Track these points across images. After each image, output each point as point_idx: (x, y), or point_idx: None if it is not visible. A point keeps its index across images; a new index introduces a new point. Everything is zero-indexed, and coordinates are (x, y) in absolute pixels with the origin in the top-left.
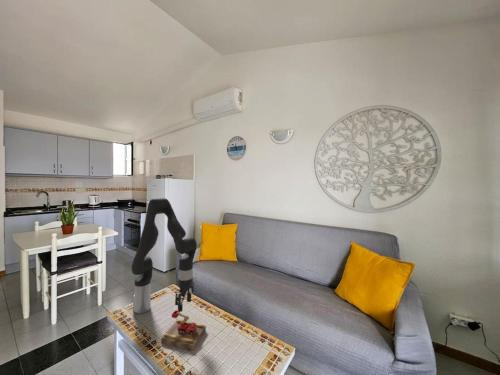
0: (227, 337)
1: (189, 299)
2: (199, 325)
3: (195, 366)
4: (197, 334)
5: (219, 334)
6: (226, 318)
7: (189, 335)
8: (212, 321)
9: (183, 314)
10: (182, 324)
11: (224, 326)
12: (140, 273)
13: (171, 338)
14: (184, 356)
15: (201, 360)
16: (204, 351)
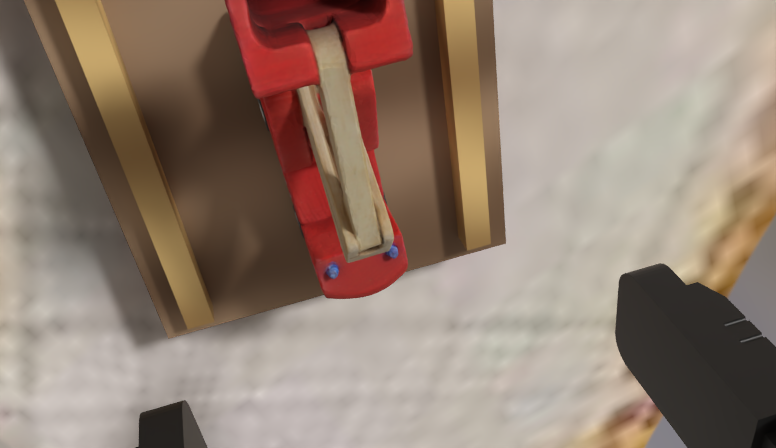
0: (477, 408)
1: (661, 379)
2: (463, 213)
3: (45, 425)
4: None
5: (486, 340)
6: (721, 256)
7: (270, 199)
8: (647, 166)
9: (368, 181)
10: (286, 123)
11: (603, 310)
12: None
13: (63, 21)
14: (53, 275)
15: (133, 418)
16: (233, 373)
